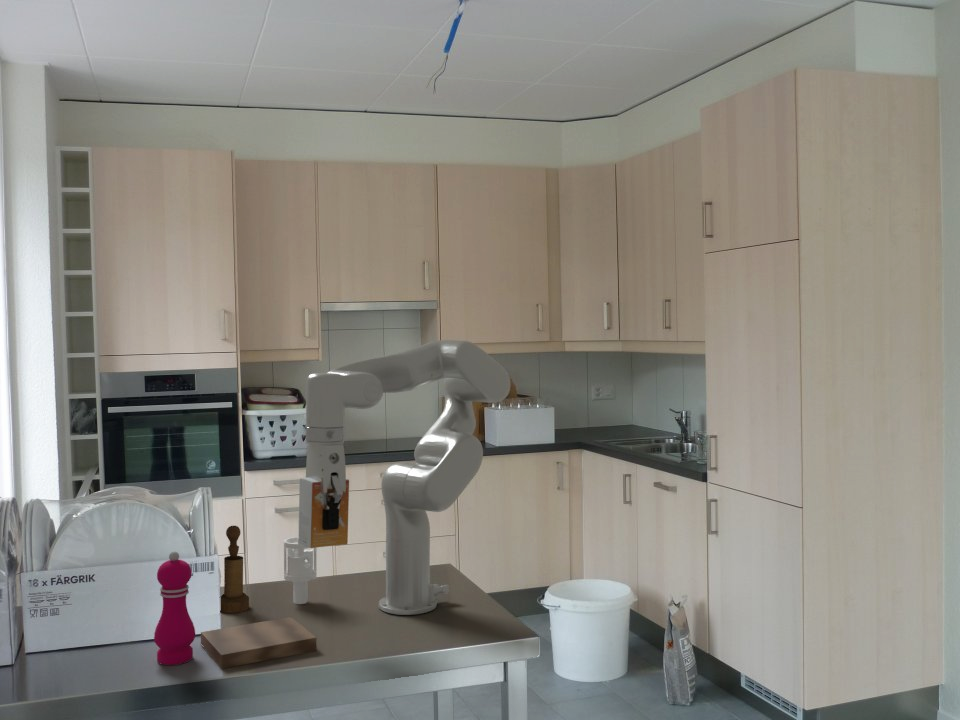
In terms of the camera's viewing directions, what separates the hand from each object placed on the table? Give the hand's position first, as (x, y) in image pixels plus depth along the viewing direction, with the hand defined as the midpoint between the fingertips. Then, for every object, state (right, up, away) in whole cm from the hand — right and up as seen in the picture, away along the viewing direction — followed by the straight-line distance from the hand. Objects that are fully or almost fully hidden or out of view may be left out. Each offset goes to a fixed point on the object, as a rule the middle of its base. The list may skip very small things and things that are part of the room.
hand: (323, 525), depth 183 cm
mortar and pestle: (-22, -21, +17) cm, 35 cm away
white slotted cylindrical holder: (-9, -21, +22) cm, 32 cm away
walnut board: (-11, -22, -7) cm, 26 cm away
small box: (0, -4, 0) cm, 4 cm away
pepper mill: (-25, -23, -13) cm, 36 cm away
